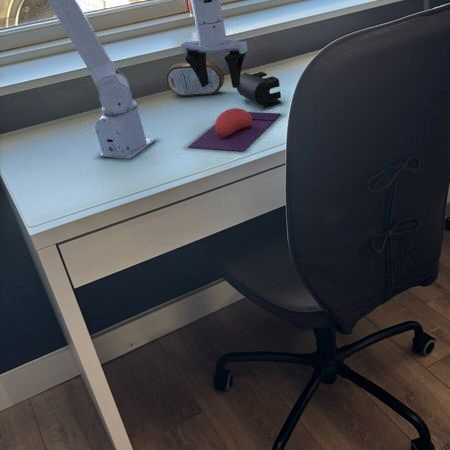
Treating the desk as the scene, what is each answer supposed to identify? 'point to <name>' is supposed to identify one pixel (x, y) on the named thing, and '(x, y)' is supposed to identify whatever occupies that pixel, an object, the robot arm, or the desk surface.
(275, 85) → the end cap
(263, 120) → the cloth
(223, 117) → the red oval piece
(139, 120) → the robot arm
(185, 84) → the tin
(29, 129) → the desk surface
